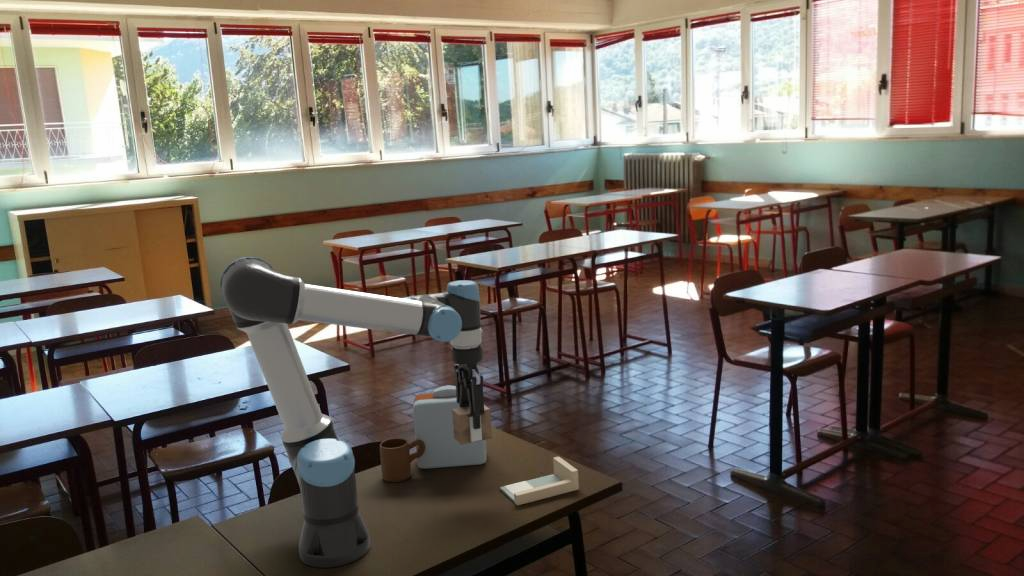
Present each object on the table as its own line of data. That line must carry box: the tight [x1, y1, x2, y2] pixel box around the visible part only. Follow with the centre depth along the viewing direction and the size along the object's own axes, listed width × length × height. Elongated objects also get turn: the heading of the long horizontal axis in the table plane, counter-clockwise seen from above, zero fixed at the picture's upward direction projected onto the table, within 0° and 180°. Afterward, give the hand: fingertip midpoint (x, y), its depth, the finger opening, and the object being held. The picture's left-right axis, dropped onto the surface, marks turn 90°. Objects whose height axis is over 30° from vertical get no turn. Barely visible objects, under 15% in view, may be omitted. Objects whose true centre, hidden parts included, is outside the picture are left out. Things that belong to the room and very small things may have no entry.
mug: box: [379, 437, 425, 483], centre depth 212 cm, size 12×8×9 cm, turn 112°
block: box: [452, 404, 493, 445], centre depth 199 cm, size 8×5×8 cm, turn 114°
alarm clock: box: [412, 384, 488, 469], centre depth 219 cm, size 18×9×21 cm, turn 93°
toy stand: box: [499, 456, 580, 506], centre depth 200 cm, size 17×10×5 cm, turn 114°
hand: (472, 436), depth 200 cm, fingers closed on block, 5 cm apart
